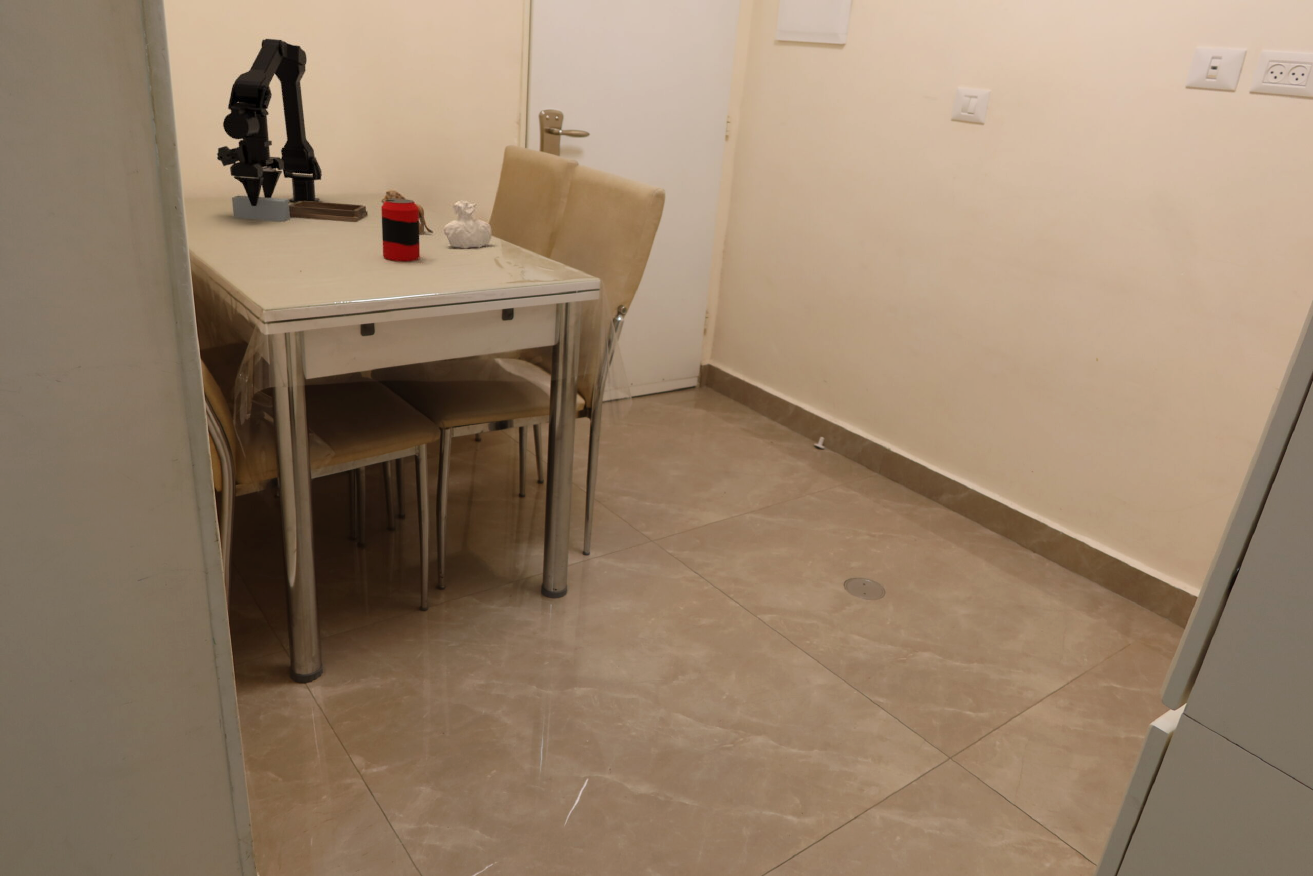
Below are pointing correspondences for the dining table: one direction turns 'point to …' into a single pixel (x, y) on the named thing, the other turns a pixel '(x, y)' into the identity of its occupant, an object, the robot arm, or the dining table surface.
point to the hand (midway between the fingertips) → (261, 203)
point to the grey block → (261, 209)
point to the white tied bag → (467, 228)
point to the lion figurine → (396, 195)
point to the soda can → (400, 230)
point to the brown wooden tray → (327, 211)
